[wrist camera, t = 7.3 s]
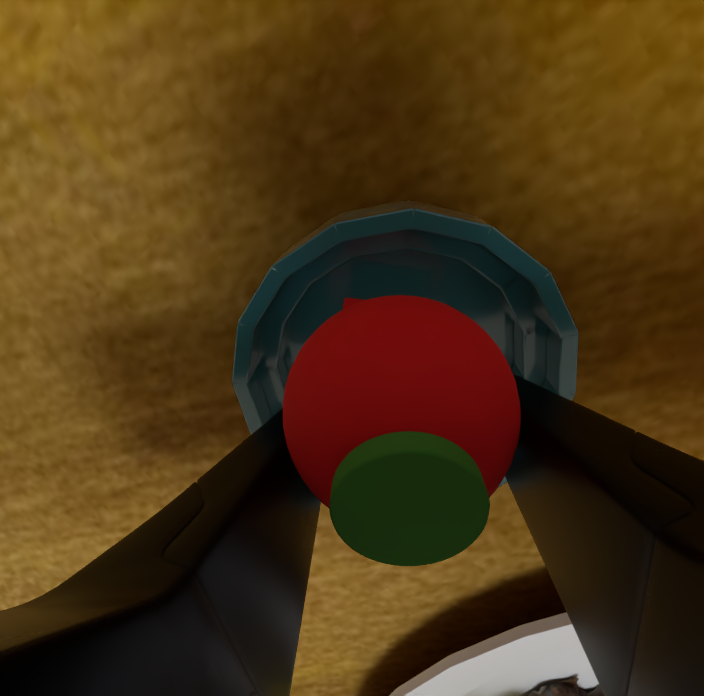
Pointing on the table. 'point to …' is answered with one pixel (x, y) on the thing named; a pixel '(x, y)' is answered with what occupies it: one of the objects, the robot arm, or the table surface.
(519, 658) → the plated food
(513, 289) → the dish
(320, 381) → the strawberry
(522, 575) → the table surface
